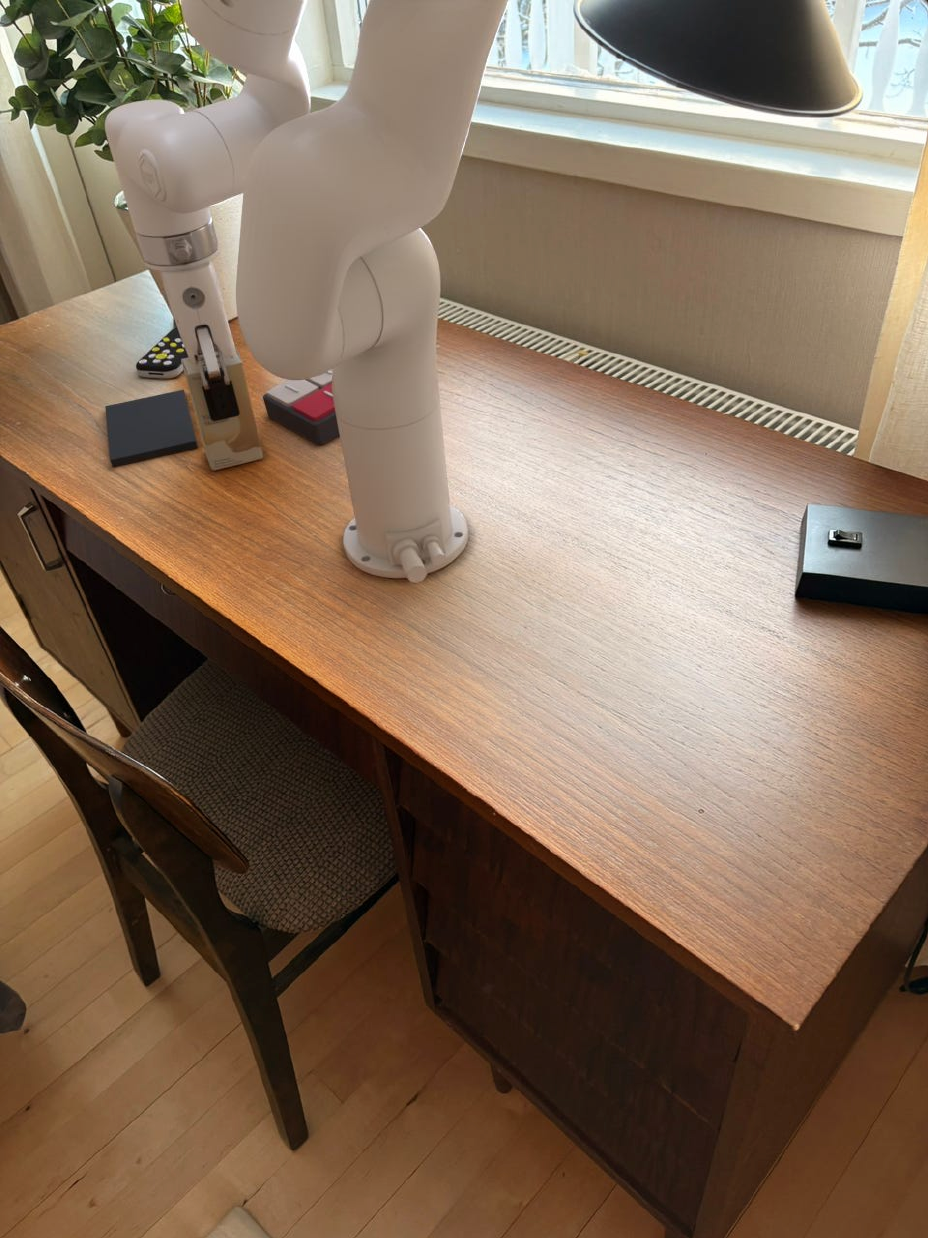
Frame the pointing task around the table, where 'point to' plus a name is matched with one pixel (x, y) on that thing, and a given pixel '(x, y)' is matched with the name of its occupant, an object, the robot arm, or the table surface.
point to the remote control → (164, 358)
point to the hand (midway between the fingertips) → (222, 404)
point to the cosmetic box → (228, 436)
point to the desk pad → (149, 428)
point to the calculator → (305, 407)
